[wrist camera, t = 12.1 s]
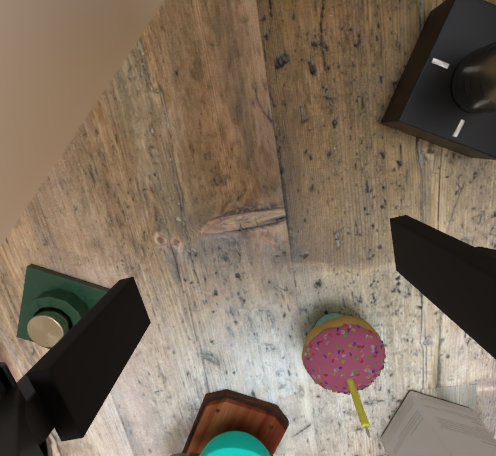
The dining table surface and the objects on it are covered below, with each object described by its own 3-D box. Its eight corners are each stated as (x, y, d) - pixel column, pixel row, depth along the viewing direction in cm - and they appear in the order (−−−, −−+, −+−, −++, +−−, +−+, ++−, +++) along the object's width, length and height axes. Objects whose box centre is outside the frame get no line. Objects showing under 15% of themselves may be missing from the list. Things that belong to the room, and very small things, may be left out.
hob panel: (430, 11, 27) (460, -12, 23) (529, 51, 27) (576, 36, 23) (380, 123, 30) (399, 120, 26) (471, 158, 30) (504, 160, 26)
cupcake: (371, 353, 37) (423, 450, 25) (302, 364, 38) (322, 462, 26) (364, 291, 35) (418, 367, 23) (291, 304, 35) (307, 383, 24)
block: (31, 263, 35) (14, 272, 33) (114, 290, 36) (104, 301, 33) (20, 333, 38) (4, 346, 35) (98, 357, 38) (87, 371, 36)
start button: (40, 302, 34) (29, 311, 32) (75, 313, 34) (65, 322, 32) (35, 331, 35) (24, 341, 33) (69, 341, 35) (59, 351, 34)
